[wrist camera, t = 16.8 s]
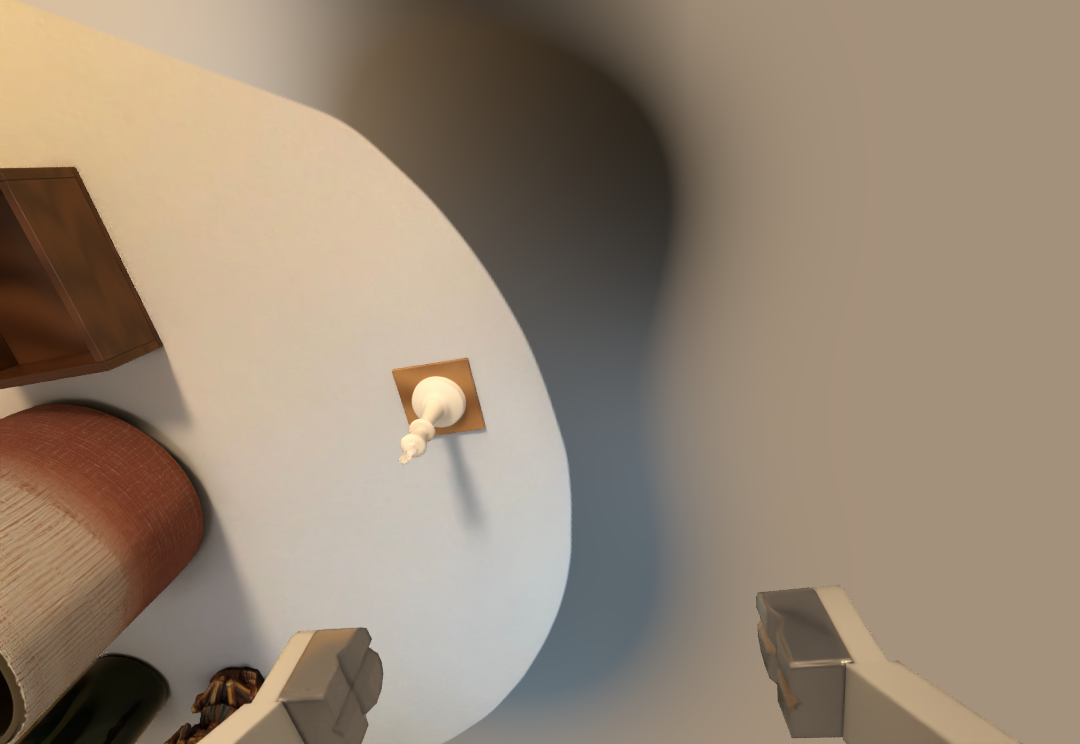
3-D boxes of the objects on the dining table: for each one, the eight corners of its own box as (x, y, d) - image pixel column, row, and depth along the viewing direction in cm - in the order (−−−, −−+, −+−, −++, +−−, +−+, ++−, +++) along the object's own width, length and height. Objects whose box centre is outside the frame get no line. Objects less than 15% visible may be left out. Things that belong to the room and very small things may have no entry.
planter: (113, 363, 48) (-176, 492, 30) (254, 538, 55) (91, 729, 37) (-40, 441, 53) (-369, 593, 35) (107, 592, 60) (-101, 784, 42)
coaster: (393, 369, 46) (391, 371, 46) (467, 357, 45) (466, 359, 45) (414, 436, 49) (413, 438, 49) (485, 426, 48) (484, 428, 48)
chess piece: (402, 400, 47) (358, 459, 38) (435, 365, 46) (398, 418, 36) (443, 434, 48) (410, 499, 39) (477, 401, 47) (451, 461, 37)
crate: (-82, 203, 44) (-176, 210, 38) (75, 166, 41) (-1, 168, 36) (21, 371, 49) (-49, 397, 44) (163, 346, 47) (109, 370, 42)
